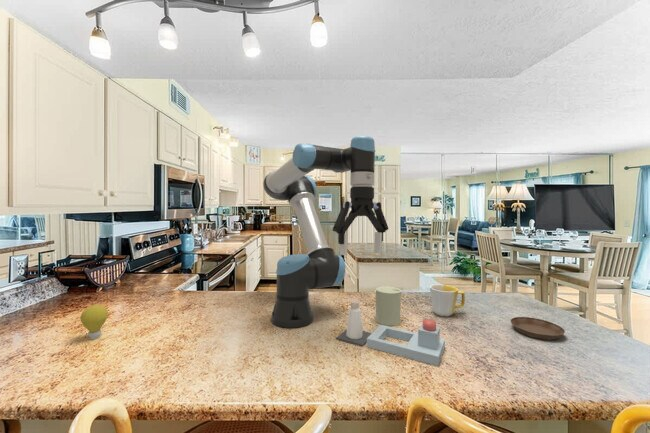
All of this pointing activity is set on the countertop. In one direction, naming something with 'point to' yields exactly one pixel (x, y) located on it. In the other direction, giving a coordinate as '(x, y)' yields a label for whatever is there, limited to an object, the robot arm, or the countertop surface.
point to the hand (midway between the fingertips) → (361, 253)
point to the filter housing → (409, 343)
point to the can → (388, 305)
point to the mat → (359, 341)
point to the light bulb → (94, 320)
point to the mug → (445, 299)
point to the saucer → (537, 328)
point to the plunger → (429, 325)
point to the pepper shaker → (354, 321)
